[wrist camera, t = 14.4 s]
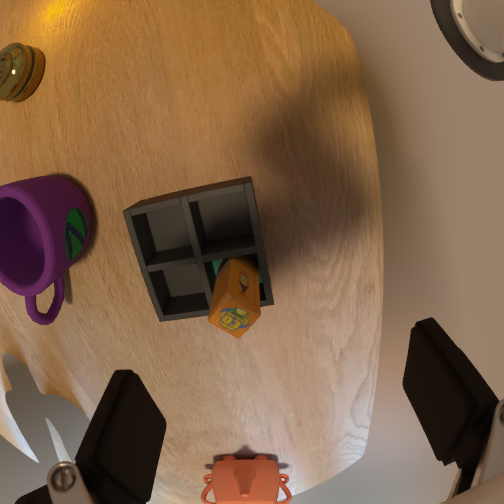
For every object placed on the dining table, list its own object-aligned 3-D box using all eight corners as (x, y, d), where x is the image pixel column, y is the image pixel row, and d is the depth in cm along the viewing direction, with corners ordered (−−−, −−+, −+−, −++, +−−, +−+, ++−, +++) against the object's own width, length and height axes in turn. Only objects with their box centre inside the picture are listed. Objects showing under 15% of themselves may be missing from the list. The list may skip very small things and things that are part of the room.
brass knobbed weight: (9, 61, 22) (-40, 53, 13) (47, 39, 22) (-2, 22, 12) (6, 109, 24) (-46, 110, 15) (45, 90, 24) (-10, 84, 15)
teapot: (244, 438, 44) (244, 498, 33) (300, 464, 49) (307, 514, 37) (191, 460, 48) (185, 511, 36) (248, 484, 52) (248, 528, 41)
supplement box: (215, 268, 32) (203, 321, 22) (233, 244, 31) (228, 289, 21) (240, 285, 32) (239, 341, 23) (259, 261, 31) (265, 312, 22)
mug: (28, 170, 28) (-26, 185, 18) (100, 171, 29) (48, 186, 19) (40, 293, 34) (1, 330, 24) (105, 308, 35) (71, 356, 25)
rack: (250, 176, 29) (251, 182, 25) (270, 283, 34) (274, 304, 29) (139, 200, 30) (122, 211, 25) (169, 299, 34) (159, 322, 30)
